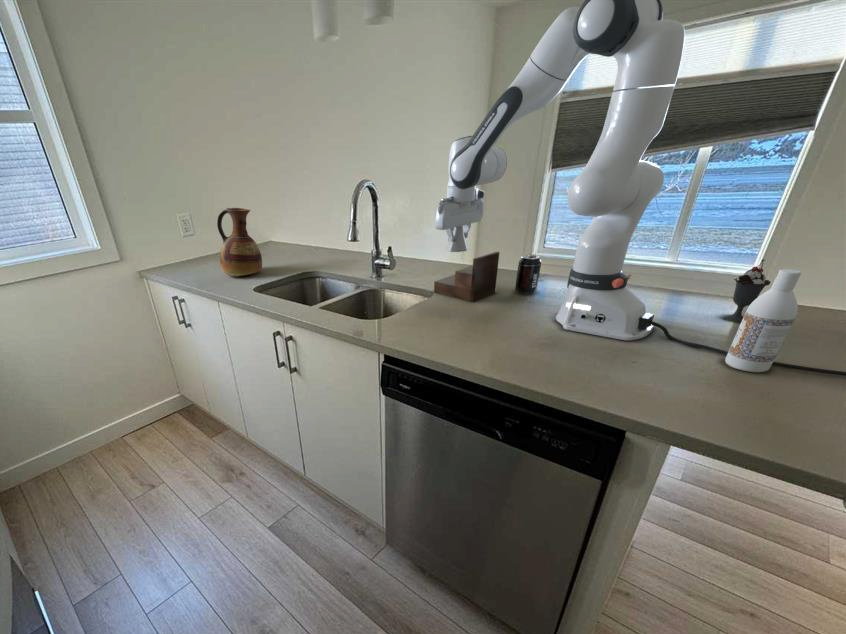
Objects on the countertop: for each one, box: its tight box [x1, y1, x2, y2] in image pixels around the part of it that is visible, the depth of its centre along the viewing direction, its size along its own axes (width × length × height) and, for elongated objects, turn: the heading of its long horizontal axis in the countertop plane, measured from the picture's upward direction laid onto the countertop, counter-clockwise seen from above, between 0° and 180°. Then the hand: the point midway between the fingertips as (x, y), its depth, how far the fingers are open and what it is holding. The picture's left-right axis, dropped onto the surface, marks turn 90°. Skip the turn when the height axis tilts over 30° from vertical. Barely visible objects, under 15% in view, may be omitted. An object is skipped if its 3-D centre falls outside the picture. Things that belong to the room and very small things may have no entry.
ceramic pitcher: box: [216, 207, 263, 277], centre depth 188 cm, size 20×20×30 cm
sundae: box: [722, 259, 771, 323], centre depth 101 cm, size 7×7×15 cm
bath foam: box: [724, 268, 802, 373], centre depth 80 cm, size 7×7×20 cm
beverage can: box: [514, 254, 542, 295], centre depth 134 cm, size 7×7×12 cm
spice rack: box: [433, 251, 500, 303], centre depth 139 cm, size 17×12×14 cm
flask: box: [446, 225, 469, 253], centre depth 136 cm, size 7×7×10 cm
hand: (458, 239), depth 137 cm, fingers closed on flask, 5 cm apart
